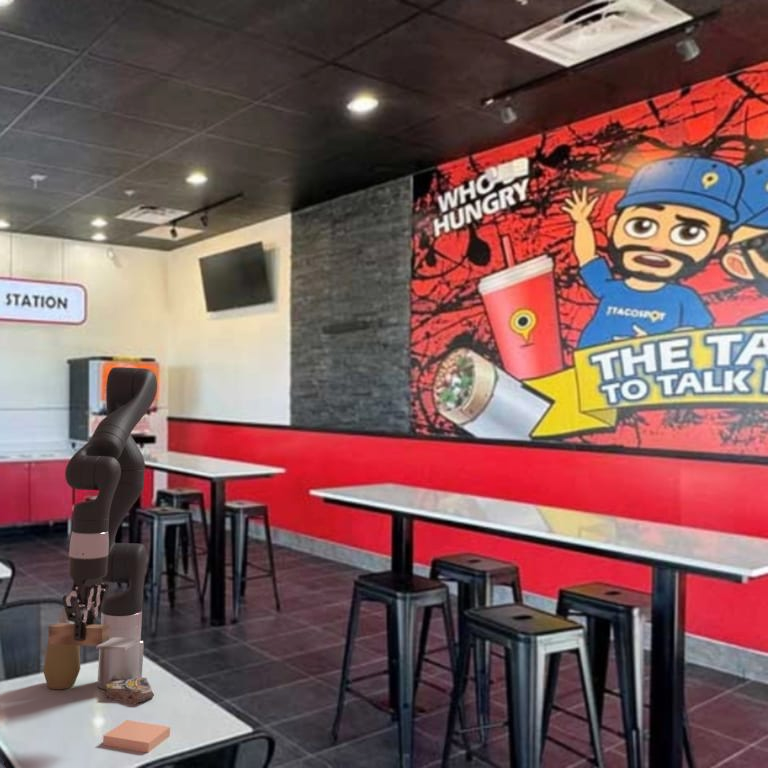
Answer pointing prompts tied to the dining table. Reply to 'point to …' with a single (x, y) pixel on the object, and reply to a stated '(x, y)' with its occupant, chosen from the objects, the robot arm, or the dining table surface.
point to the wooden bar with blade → (89, 637)
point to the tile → (136, 736)
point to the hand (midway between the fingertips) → (84, 637)
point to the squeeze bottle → (62, 662)
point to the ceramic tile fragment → (130, 690)
